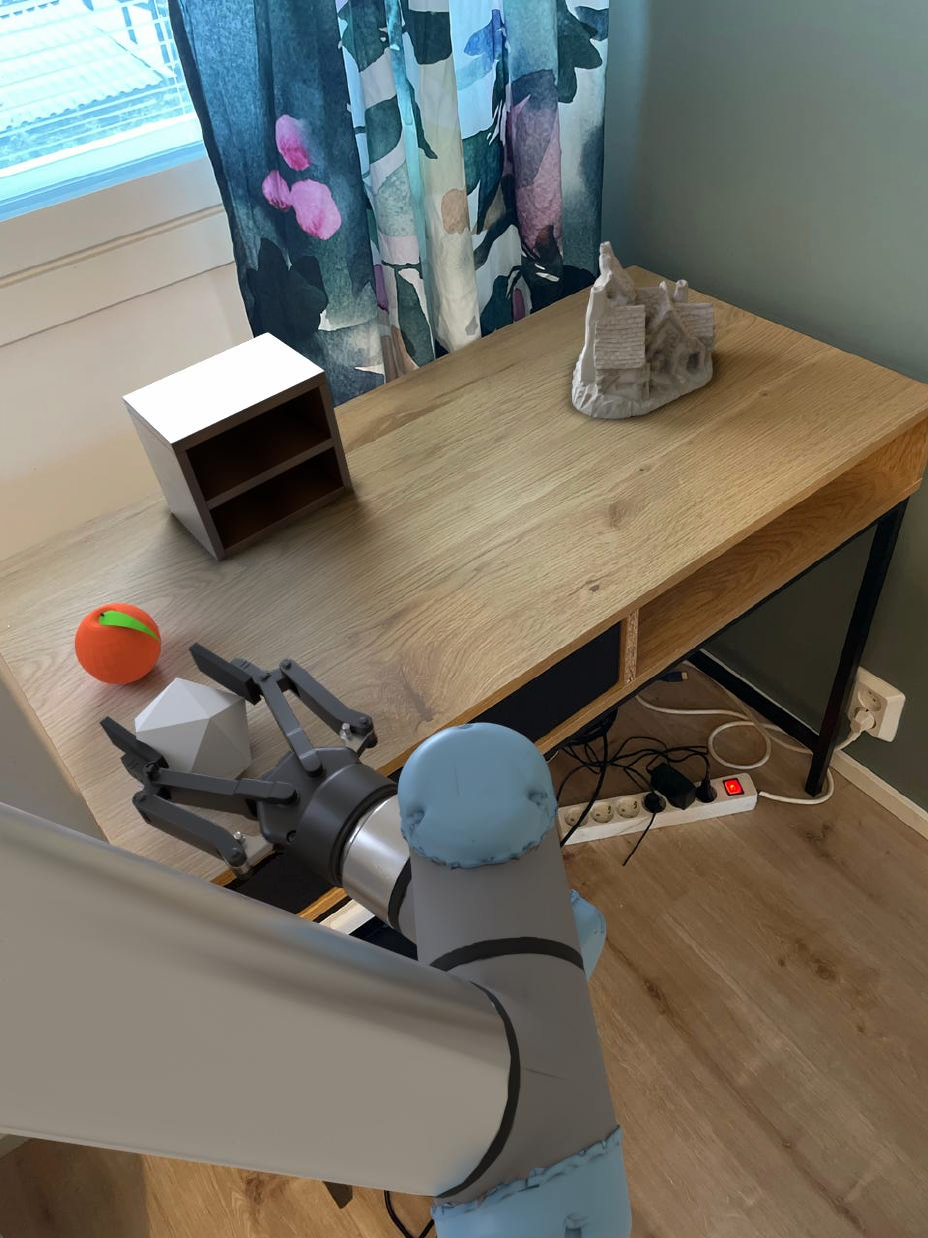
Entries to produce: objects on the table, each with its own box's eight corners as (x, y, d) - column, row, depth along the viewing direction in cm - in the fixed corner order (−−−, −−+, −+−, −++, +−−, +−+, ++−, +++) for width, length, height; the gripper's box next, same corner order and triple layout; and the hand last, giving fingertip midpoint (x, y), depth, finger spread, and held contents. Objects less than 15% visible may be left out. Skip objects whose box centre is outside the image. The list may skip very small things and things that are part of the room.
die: (288, 783, 70) (260, 658, 68) (199, 831, 62) (165, 693, 61) (213, 780, 74) (185, 664, 73) (123, 825, 67) (90, 696, 65)
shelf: (218, 562, 88) (170, 443, 78) (171, 512, 94) (121, 396, 84) (353, 489, 94) (325, 370, 84) (300, 447, 100) (267, 332, 90)
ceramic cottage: (557, 413, 99) (563, 281, 89) (587, 343, 110) (596, 218, 100) (700, 433, 96) (724, 297, 85) (716, 358, 107) (740, 230, 96)
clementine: (196, 646, 80) (169, 589, 75) (160, 707, 76) (129, 651, 70) (119, 637, 82) (87, 581, 77) (79, 695, 78) (42, 639, 72)
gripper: (276, 996, 55) (63, 816, 66) (477, 762, 66) (265, 640, 77) (242, 943, 50) (16, 757, 61) (467, 697, 60) (240, 577, 71)
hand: (155, 692), depth 69 cm, fingers closed on die, 8 cm apart
